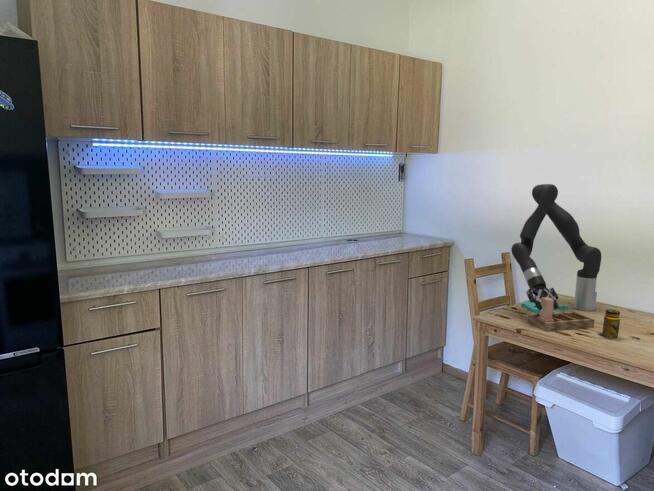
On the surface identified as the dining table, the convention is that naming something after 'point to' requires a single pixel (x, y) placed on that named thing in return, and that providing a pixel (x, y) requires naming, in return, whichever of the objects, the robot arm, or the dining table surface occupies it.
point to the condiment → (610, 325)
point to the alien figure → (534, 309)
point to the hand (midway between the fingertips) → (548, 308)
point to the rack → (562, 321)
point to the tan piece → (546, 309)
